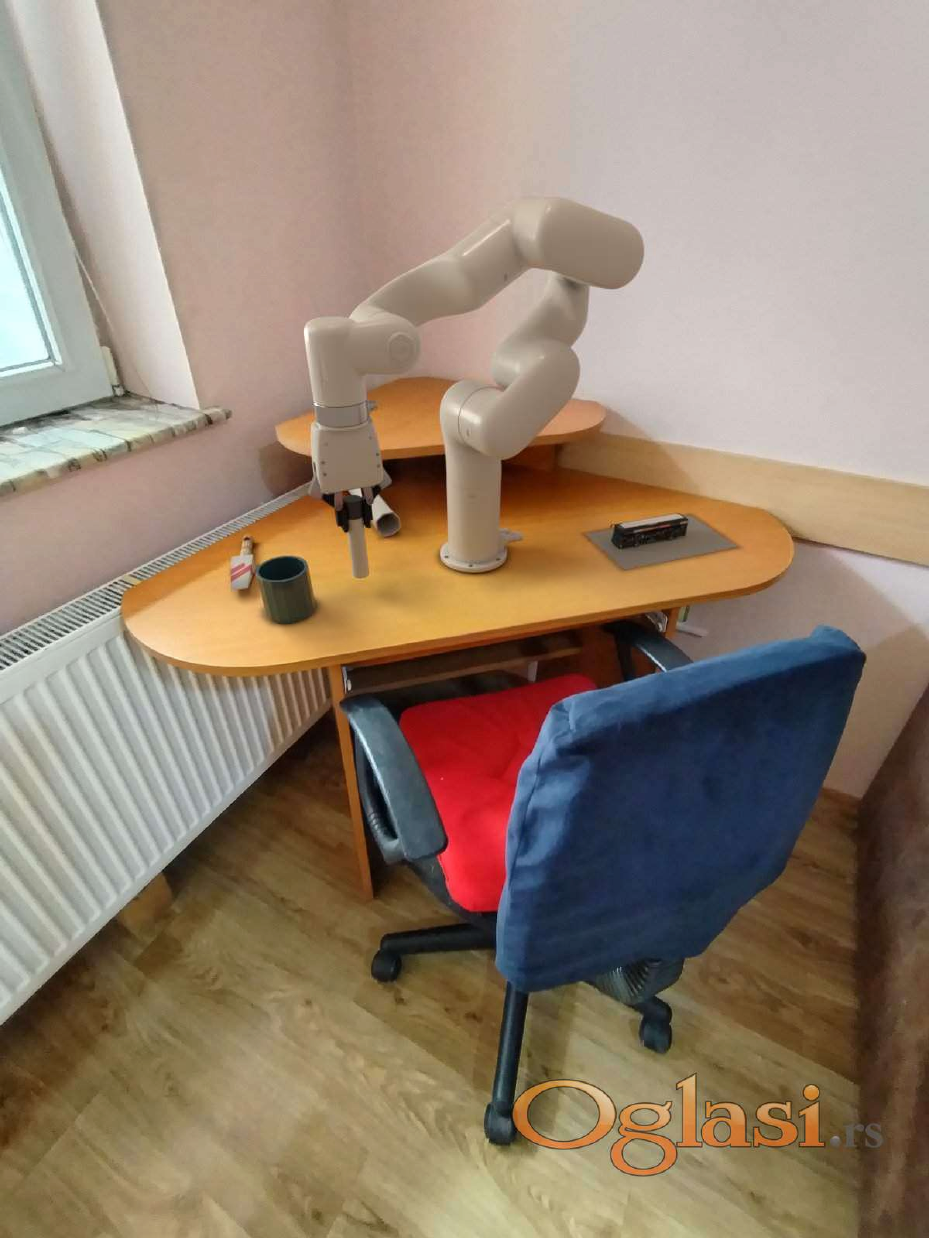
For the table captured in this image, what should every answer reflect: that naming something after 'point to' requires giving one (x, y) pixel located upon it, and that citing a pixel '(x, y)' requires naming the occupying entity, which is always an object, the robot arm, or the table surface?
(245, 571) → the paintbrush
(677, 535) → the gray base plate
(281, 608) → the pen holder
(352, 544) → the marker
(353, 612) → the table surface
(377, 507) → the tube
